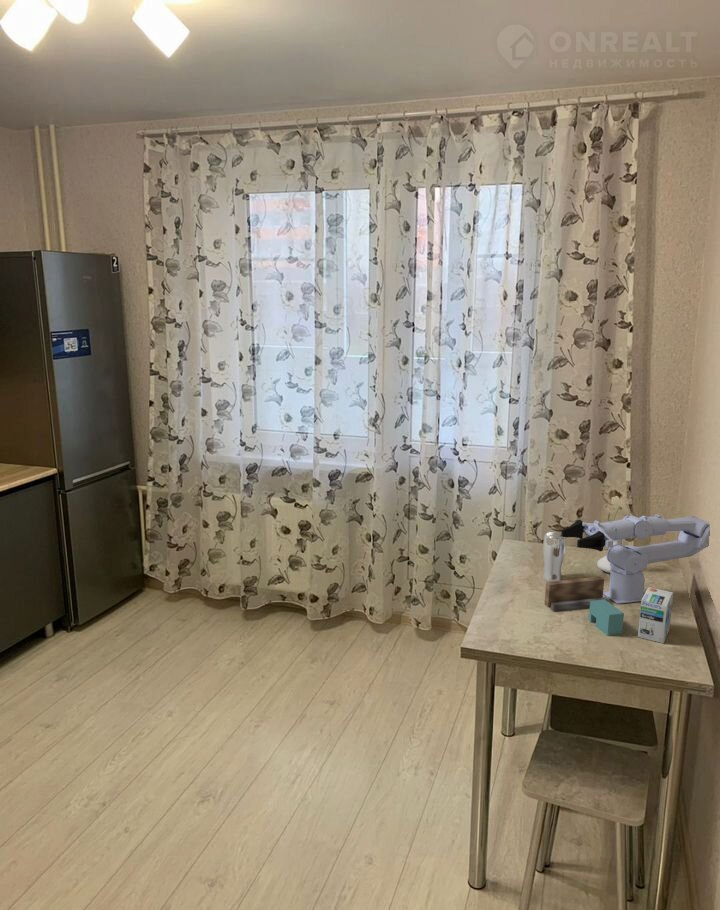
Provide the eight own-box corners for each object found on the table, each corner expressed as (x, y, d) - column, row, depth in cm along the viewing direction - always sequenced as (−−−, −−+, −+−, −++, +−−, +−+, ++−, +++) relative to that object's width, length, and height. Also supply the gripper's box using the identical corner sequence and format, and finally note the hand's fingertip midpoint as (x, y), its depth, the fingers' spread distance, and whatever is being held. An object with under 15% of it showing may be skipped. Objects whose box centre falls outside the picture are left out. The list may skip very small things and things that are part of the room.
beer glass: (565, 577, 223) (569, 533, 219) (559, 584, 217) (562, 539, 214) (544, 572, 226) (547, 529, 223) (537, 579, 221) (540, 535, 217)
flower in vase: (638, 577, 223) (645, 503, 217) (603, 577, 223) (609, 503, 218) (623, 562, 236) (630, 492, 230) (590, 562, 236) (596, 492, 230)
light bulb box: (663, 644, 180) (668, 606, 177) (636, 637, 183) (640, 600, 181) (670, 628, 188) (674, 591, 186) (644, 622, 192) (648, 586, 190)
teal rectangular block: (602, 619, 194) (604, 599, 192) (622, 633, 185) (624, 613, 184) (588, 620, 193) (590, 601, 191) (607, 635, 184) (609, 615, 183)
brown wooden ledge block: (598, 598, 207) (600, 576, 205) (608, 605, 202) (610, 583, 201) (544, 604, 203) (546, 582, 201) (553, 611, 198) (554, 589, 196)
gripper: (595, 510, 207) (556, 516, 203) (627, 528, 193) (586, 535, 189) (593, 531, 209) (554, 538, 205) (625, 551, 195) (584, 558, 192)
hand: (569, 538), depth 197 cm, fingers open, 7 cm apart
